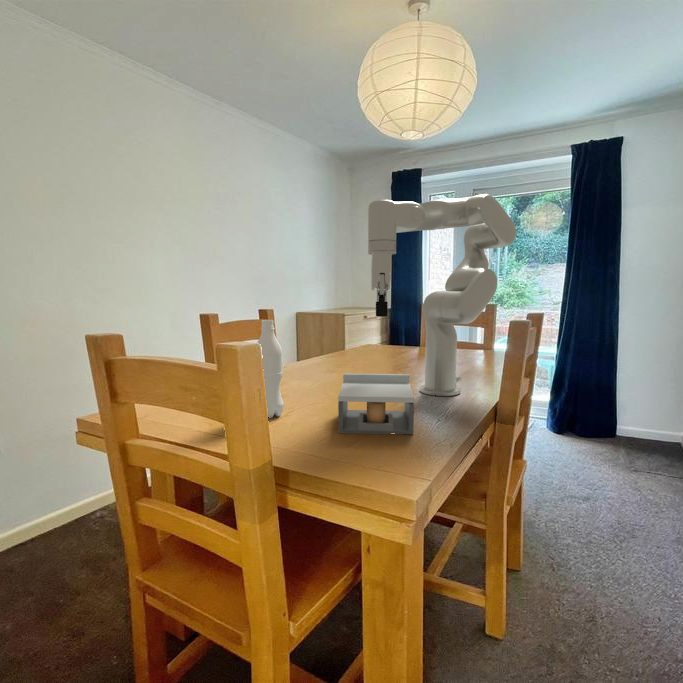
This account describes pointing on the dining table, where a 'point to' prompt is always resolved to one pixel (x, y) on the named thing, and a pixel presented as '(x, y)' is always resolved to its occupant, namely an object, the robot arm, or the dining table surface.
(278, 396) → the water bottle
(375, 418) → the tan egg-shaped pebble
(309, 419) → the dining table surface
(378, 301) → the robot arm
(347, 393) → the lid
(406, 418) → the housing
